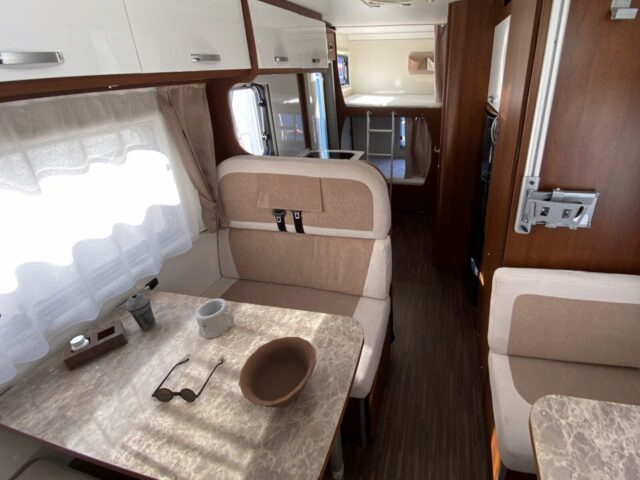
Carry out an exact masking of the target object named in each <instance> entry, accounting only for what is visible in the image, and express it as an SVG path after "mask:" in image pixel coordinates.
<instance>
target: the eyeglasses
mask: <svg viewBox="0 0 640 480" xmlns="http://www.w3.org/2000/svg"><path fill="white" fill-rule="evenodd" d="M189 360H190V357H187V358H186V359H185V360H184V361H180V362H177V363H176V364H175V365H174V366H172V368H171V370H170V371H168V373H167V375H165V377H164V378H163V379H162V381H161V382H160V383H159V385H158V386H157V387H156V389H155V390H154V391H153V393H152V394H151V398H156V400H157V401H159V402H161V403H169V402H171V401H172V400H173V399H174V397H180V398H181V399H182V401H185V402H187V403H194V402H195V401H196V399H198V398H199V397H200V396H201V394H202V393H203V391H204V390H205V388H206V386H207V384H208V383H209V381H210V380H211V377H212V376H213V375H214V372H215V371H216V369H217V368H218V367H219V366H221V365H222V364H223V363H224V358H221V362H218V363H217V364H216V365H215V366H214V368H213V369H212V371H211V373H210V374H209V376H208V378H206V380H205V382H204V384H203V385H202V387H201V388H200V390H199V392H197V394H196V393H195V392H194V391H193V389H191V388H188V387H185V388H182V389H181V390H180V391H173V390H172V389H170V388H168V387H162V386H163V385H164V384H165V382H166V381H167V379H168V378H169V376H170V375H171V374H172V372H173V371H174V370H175V369H176V367H178V366H180V365H183V364H186V362H188V361H189Z"/></svg>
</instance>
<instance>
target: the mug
mask: <svg viewBox="0 0 640 480" xmlns="http://www.w3.org/2000/svg"><path fill="white" fill-rule="evenodd" d="M194 316H195V319H196V322H197V325H198V327H199V330H200V333H201V335H202V336H203V338H207V339H213V338H218V337H220V336H222V335H223V334H225V333H226V332H227V331H229V330H230V328H231V327H234V326H235V323H234V320H233V316H232V314H231V313H230V310H229V306H228V301H226V299H224V298H212V299H209V300H207V301H205V302H203V303H202V304H201V305H199V306H198V307H197V309H196V310H195V313H194Z"/></svg>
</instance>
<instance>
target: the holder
mask: <svg viewBox="0 0 640 480" xmlns="http://www.w3.org/2000/svg"><path fill="white" fill-rule="evenodd" d="M83 336H84V338H85V339H86V340H88V341H89V343H90V345H88V346H86V347H84V348H82V349H80V350H77V351H75V352H73V350H72V345H71V343H70V342H71V341H69V342H67V343H65V344H63V355H62V361H63V363H64V364H65V366H66V367H67V369H68V370H69V371H72V370H74V369H76V368H78V367H80V366H83V365H85V364H86V363H89V362H91V361H93V360H95V359H97V358H99V357H101V356H104V355H105V354H107V353H109V352H112V351H113V350H116V349H118V348H119V347H122V346H124V345H126V344H128V339H127V338H128V337H127V332H126V328H125V327H124V324H123V323H122V320H121V319H118V320H117V321H115V322H112V323H110V324H108V325H105V326H104V327H101V328H99V329H96V330H95V331H92V332H90V333H88V334H85V335H83ZM77 366H78V367H77ZM75 367H76V368H75ZM73 368H74V369H73ZM71 369H72V370H71Z"/></svg>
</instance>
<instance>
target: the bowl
mask: <svg viewBox="0 0 640 480" xmlns="http://www.w3.org/2000/svg"><path fill="white" fill-rule="evenodd" d="M316 364H317V355H316V349H315V348H314V346H313V345H312V343H311V342H310V341H309V340H307V339H304V338H302V337H300V336H284V337H278V338H275V339H271V340H269V341H267V342H266V343H264V344H262V345H260V346H259V347H258V348H257V349H256V350H255V351H254V352H252V354H250V355H249V357H248V358H247V359H246V361H245V362H244V364H243V366H242V367H241V370H240V375H239V381H238V387H239V389H240V391H241V394H242V396H243V397H244V398H245V399H246V400H248V401H249V402H251V403H252V404H253V405H255V406H263V407H265V408H275V409H276V408H277V409H278V408H281V407H283V406H286V405H288V404H290V403H291V402H292V401H293V400H295V399H296V398H297V397H298V396H299V395H300V394H301V392H302V391H304V389H305V387H306V386H307V383H308V381H309V379H310V378H311V377H312V375H313V373H314V370H315V367H316Z"/></svg>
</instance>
